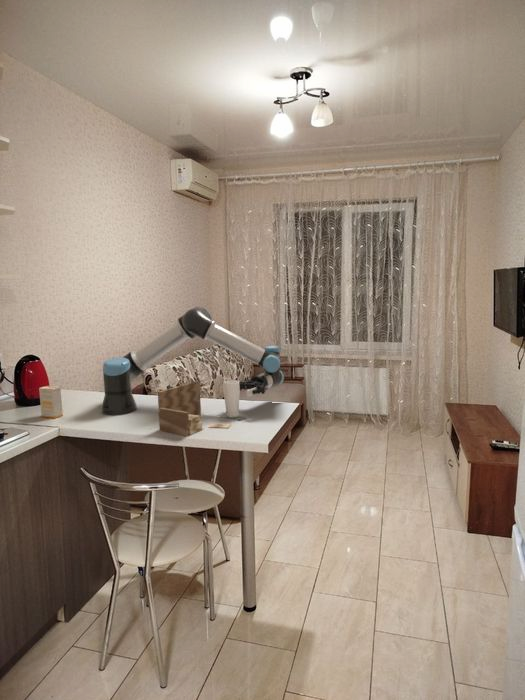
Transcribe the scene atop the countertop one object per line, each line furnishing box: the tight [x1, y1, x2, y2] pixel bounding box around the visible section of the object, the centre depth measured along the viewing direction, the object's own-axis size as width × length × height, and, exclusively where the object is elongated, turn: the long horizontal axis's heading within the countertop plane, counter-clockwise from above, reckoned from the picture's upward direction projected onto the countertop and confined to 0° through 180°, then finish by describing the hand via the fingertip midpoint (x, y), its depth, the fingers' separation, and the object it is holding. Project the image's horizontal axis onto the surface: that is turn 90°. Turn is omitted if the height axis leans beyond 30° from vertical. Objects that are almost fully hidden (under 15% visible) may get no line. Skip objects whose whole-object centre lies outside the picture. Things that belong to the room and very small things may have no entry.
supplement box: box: [38, 385, 64, 419], centre depth 208 cm, size 8×5×13 cm, turn 65°
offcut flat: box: [208, 423, 232, 429], centre depth 186 cm, size 8×4×2 cm, turn 81°
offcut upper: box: [188, 414, 201, 426], centre depth 180 cm, size 6×5×2 cm
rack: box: [157, 380, 204, 437], centre depth 188 cm, size 24×15×16 cm, turn 148°
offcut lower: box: [189, 421, 203, 436], centre depth 181 cm, size 7×6×3 cm
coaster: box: [218, 412, 246, 422], centre depth 202 cm, size 11×11×1 cm
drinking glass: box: [223, 379, 241, 418], centre depth 201 cm, size 7×7×15 cm
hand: (233, 392), depth 201 cm, fingers open, 13 cm apart
